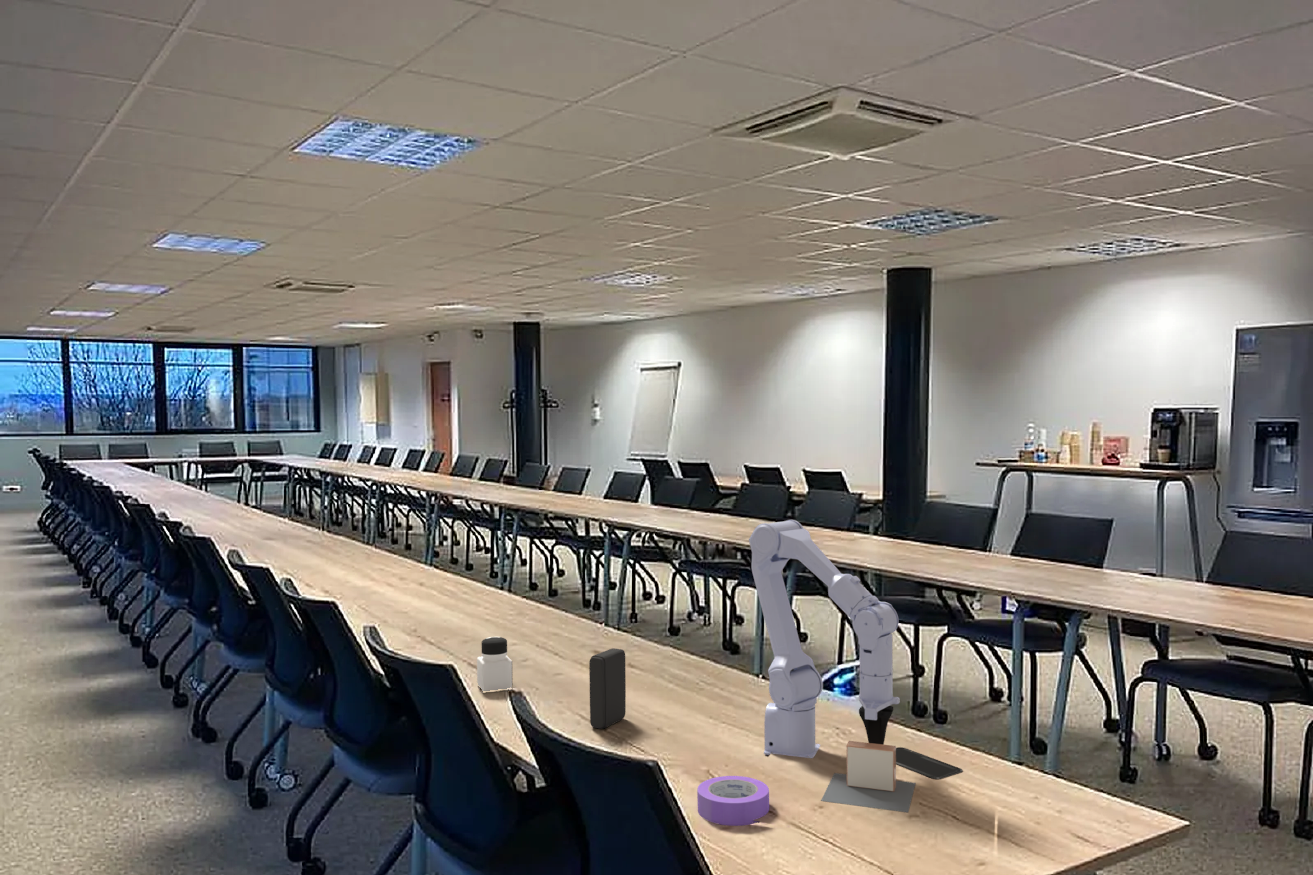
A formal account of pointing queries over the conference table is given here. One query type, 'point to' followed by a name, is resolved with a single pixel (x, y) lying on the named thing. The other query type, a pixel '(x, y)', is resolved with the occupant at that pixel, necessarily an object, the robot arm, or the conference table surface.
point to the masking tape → (733, 800)
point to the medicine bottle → (494, 665)
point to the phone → (924, 764)
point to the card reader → (607, 688)
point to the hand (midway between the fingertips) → (876, 748)
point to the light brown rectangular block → (871, 766)
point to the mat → (869, 795)
